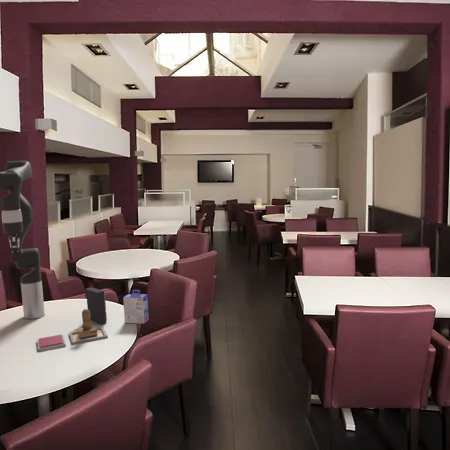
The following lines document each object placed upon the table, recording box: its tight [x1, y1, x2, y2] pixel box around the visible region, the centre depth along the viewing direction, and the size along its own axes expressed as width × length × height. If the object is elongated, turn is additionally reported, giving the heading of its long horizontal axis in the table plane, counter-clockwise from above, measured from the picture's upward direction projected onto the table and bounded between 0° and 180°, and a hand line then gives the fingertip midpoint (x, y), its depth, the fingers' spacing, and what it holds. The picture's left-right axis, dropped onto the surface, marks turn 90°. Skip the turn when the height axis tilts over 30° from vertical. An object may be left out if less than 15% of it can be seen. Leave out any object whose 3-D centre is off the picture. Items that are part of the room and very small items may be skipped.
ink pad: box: [36, 334, 67, 352], centre depth 174 cm, size 11×10×2 cm
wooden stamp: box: [77, 308, 97, 340], centre depth 181 cm, size 5×7×12 cm
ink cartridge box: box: [122, 289, 150, 325], centre depth 196 cm, size 10×6×14 cm, turn 78°
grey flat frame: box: [68, 326, 108, 345], centre depth 181 cm, size 12×14×1 cm
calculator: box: [84, 286, 108, 325], centre depth 199 cm, size 11×4×15 cm, turn 47°
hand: (16, 259), depth 181 cm, fingers open, 8 cm apart
